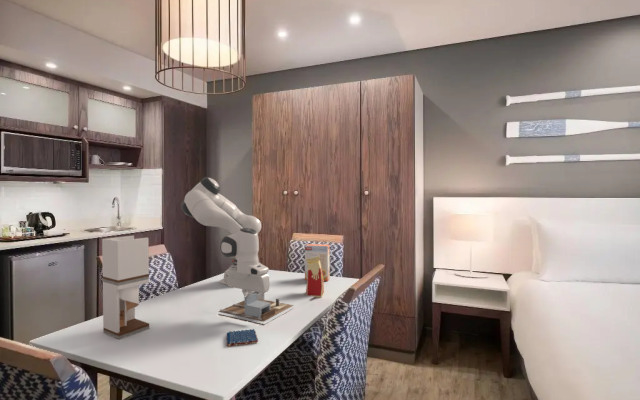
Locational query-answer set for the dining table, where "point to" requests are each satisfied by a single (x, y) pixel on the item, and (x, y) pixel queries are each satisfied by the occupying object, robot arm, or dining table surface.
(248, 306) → the cover
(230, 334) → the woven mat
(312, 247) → the cracker box
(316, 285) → the milk carton
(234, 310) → the base
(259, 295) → the block
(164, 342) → the dining table surface
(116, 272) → the coffee grinder
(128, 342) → the dining table surface
